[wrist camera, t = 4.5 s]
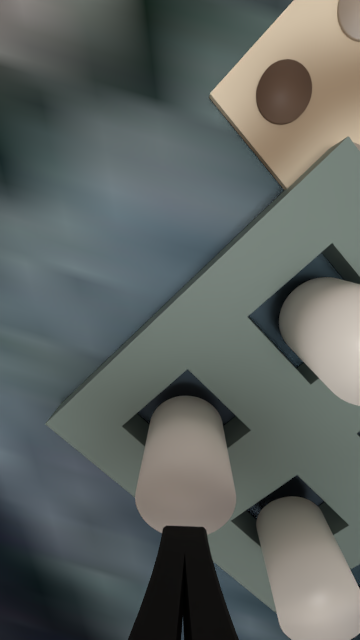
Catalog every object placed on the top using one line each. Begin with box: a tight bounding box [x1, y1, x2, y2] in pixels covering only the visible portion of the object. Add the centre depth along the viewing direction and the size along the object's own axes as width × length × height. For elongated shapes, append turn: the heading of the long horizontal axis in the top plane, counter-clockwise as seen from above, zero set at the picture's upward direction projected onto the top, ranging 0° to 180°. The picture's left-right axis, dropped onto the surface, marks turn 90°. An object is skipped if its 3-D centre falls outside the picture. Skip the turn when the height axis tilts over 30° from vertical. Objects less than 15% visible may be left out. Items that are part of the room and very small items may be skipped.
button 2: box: [135, 396, 236, 535], centre depth 14 cm, size 4×4×4 cm
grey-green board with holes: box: [46, 136, 360, 613], centre depth 17 cm, size 20×20×2 cm
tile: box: [209, 0, 360, 190], centre depth 13 cm, size 9×9×1 cm
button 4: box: [279, 277, 360, 406], centre depth 12 cm, size 4×4×4 cm
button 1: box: [256, 496, 360, 640], centre depth 15 cm, size 4×4×4 cm
